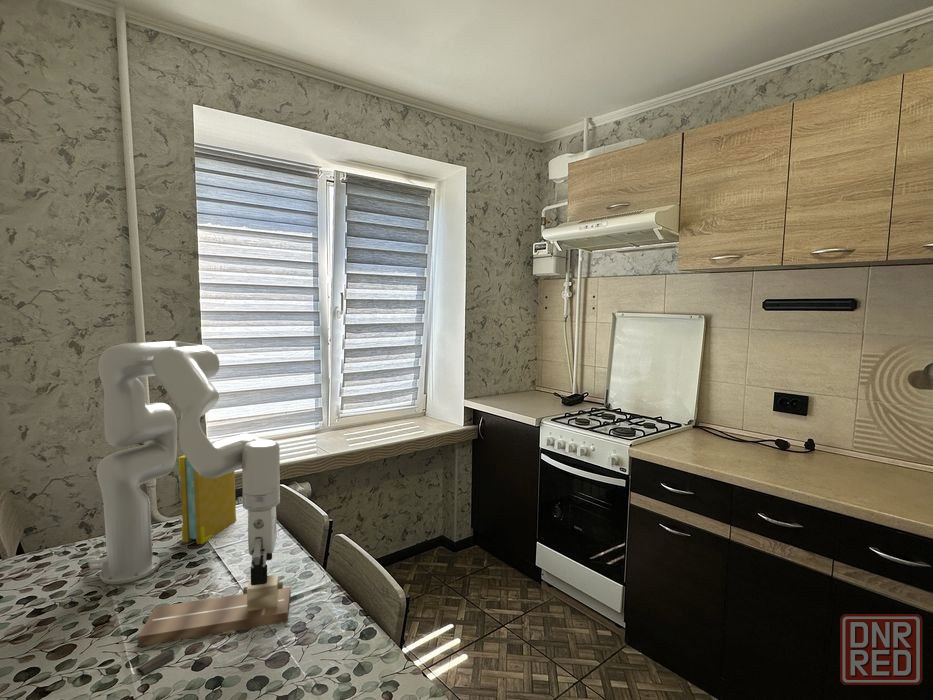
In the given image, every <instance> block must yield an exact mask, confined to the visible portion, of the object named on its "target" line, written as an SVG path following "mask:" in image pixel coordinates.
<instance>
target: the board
mask: <svg viewBox="0 0 933 700" xmlns="http://www.w3.org/2000/svg"><path fill="white" fill-rule="evenodd" d="M291 587H292V586H286V587H283V589H279V599H278V605H277V607H272V608H266V609H260V610H253V611H248V609H247V594H243V593H240V594H234V595H226V596H218V597H213V598H207V599H206V598H205V599H199V600H192V601H187V602H185V601H184V602H179V603H173V604H165V605H159V606H158V605H157V606H154V608H153V610H152V611H151V613H150V615H149V617H148V619H147V620H146V622H145V623H144V626H143V627H142V629H141V631H140V632H139V635H138V636H137V640H138V641H137V642H138V643H137V644H138V647H142V646H147V645H154V644H159V643H164V642H171V641H177V640H183V639H190V638H195V637H196V638H197V637H200V636H201V637H202V636H208V635H214V634H219V633H225V632H226V633H227V632H232V631H236V630H237V631H239V630H243V629H249V628H256V627H261V626H267V625H273V624H279V623H285V622H288V621H289V613H290V612H289V611H290V604H291V597H292V595H291V590H292V589H291Z"/></svg>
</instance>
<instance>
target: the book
mask: <svg viewBox="0 0 933 700" xmlns="http://www.w3.org/2000/svg"><path fill="white" fill-rule="evenodd" d="M177 458H178V474H179V475H180V491H181V493H180V494H181V514H182V525H181V542H183V543H189V542H191V541H193V540H196V544H197V545H198V544H199V545H203V544H205V543H206V542H208V541H209V540H211V539H213V537H214V536H216V535H217V534H219V533H221V532H223V530H224V529H227V528H228V527H230V526H232V525H233V524H235V523H236V521H237V512H236V511H237V509H236V506H237V505H236V479H235V477H236V476H235V471H233V472H231V473H228V474H225V475H223V476H220V477H217V478H211V479H210V478H205V477H203V476H201V475H200V474H199V473H198V472H196V470H195V469H194V468H193V467H192V465H191V464H190V462H189V461H188V459H187V458H186V457H185V455H184V454H183V455H181V456H178V457H177Z"/></svg>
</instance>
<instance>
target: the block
mask: <svg viewBox="0 0 933 700" xmlns="http://www.w3.org/2000/svg"><path fill="white" fill-rule="evenodd" d="M175 653H176V652H175V651H174V650H173V649H170V648H169V649H166V650H164V651H163V652H161V653H159V654H158V655H156V656H154V657H153V658H151V659H150V660H147V661H146V662H144V663H143V664H141V665H140V666H137V667H136V668H135V670H136V671H137V672H138V673H140V674H141V675H142V676H146V675H148V674H150V673H151V672H153V671H156V670H157V669H159V668H161V667H162V666H164V665H166V664H168V663H170V662H172V661H174V660H175V656H176V655H175Z"/></svg>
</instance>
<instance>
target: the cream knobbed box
mask: <svg viewBox="0 0 933 700" xmlns="http://www.w3.org/2000/svg"><path fill="white" fill-rule="evenodd" d="M279 575H280V574H278V573H277V574H270V575H267V583H266V584H260V585H251V577H250V578H249V580H248V584H247V586H244V587H243V589H242V592H243V593H242V594H247V609H248V611H253V610H260V609H266V608H272V607H277V605H278V599H279V589H283V588H284V587H283V585H284V583H283V581H280V579H279Z"/></svg>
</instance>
